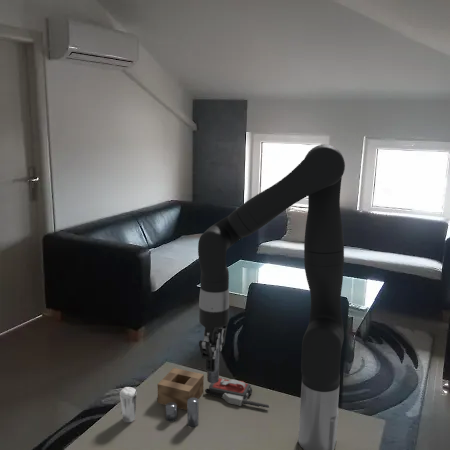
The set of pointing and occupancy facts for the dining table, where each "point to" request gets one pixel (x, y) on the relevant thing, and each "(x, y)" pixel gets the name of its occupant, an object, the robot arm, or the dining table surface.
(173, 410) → the pin short
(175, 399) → the hole block
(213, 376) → the pin long
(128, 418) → the milkshake
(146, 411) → the dining table surface
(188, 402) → the pin medium
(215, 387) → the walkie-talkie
